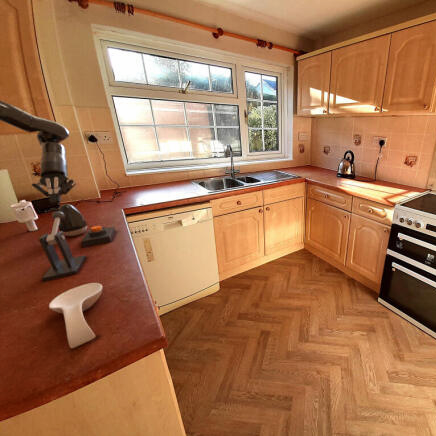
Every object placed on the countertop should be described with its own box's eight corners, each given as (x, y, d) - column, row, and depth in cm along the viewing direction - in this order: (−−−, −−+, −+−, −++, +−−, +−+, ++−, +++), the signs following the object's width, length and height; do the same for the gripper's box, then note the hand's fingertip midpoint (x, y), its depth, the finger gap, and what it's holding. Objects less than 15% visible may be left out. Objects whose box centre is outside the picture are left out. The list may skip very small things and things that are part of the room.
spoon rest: (54, 305, 71) (44, 284, 68) (103, 287, 78) (96, 268, 75) (52, 359, 54) (38, 335, 51) (115, 330, 61) (105, 308, 58)
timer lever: (55, 216, 93) (50, 210, 90) (66, 215, 94) (62, 208, 92) (48, 246, 84) (42, 240, 81) (60, 244, 85) (55, 238, 83)
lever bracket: (56, 263, 92) (40, 231, 87) (85, 257, 95) (72, 225, 90) (43, 281, 82) (24, 245, 77) (76, 273, 85) (61, 238, 80)
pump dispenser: (62, 234, 117) (48, 204, 111) (88, 227, 123) (77, 199, 118) (62, 241, 110) (48, 209, 104) (91, 233, 116) (79, 203, 111)
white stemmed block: (45, 225, 128) (32, 198, 122) (39, 230, 122) (25, 202, 116) (27, 228, 125) (13, 201, 119) (20, 234, 119) (5, 205, 113)
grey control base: (90, 236, 114) (86, 227, 112) (115, 231, 118) (112, 223, 116) (83, 247, 104) (79, 237, 102) (111, 241, 108) (107, 232, 106)
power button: (93, 230, 110) (92, 226, 109) (103, 228, 112) (101, 224, 111) (91, 233, 107) (90, 229, 106) (101, 231, 109) (100, 227, 108)
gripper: (25, 162, 91) (25, 202, 85) (70, 158, 96) (72, 196, 90) (38, 173, 97) (38, 211, 92) (79, 169, 102) (81, 205, 97)
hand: (55, 203), depth 91 cm, fingers closed
